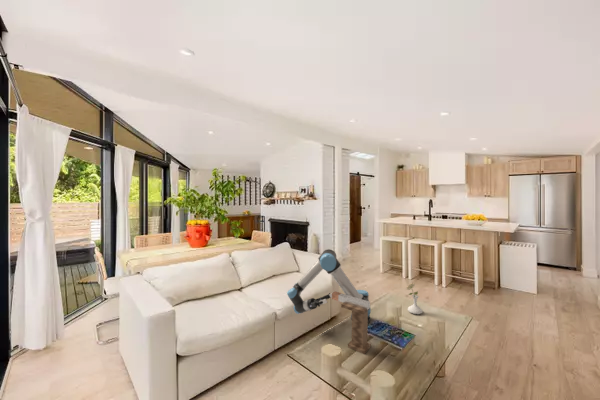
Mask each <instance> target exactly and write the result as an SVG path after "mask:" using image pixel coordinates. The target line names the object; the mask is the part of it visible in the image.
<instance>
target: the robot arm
mask: <svg viewBox="0 0 600 400" xmlns="http://www.w3.org/2000/svg"><path fill="white" fill-rule="evenodd" d="M341 265H342V264H341V262H340V261H339V260H338V258H337V254H336V252H335V251H334V250H332V249H329V248H328V249H325V250H323V251H322V253H321V254H320V255H319V257H318V258H317V261H316V262H314V264H313V265H312V266H311V267H310V269H309V270H307V271H306V273H305V274H303V276H302V277H301V278H300V279H299V280H298V281H297V282H296V283H294V284H293V286H292V288H290V289H288V291H287V292H286V295H287V296H288V299H290V301H291V302H292V305H293V311H294V314H298V315H299V314H304V313H305V312H311V310H315V309H317V308H318V307H321V306H323V305H325V304H328V299H332V293H333V292H331V293H330V292H329V293H328V294H326V295H324V296H320V297H318V298H314V297H312V298H309V299H305V300H303V298H302V296H301V293H302V292H303V291H304V290H305V289H306V288H307V287H308V286H309V284H311V283H312V281H313V280H315V278H316V277H317V276H318V275H319V274H320V273H321V272H322V271H323V270H324V271H325V272H326V273H327V274H328V275H331V276H332V278H333V279H334V281H335V282H336V283H337V284H338V286H339V288H340V289H341V290H342V292H343V294H345V295H349V296H352V297H356V298H359V299H362V300H366V301H369V296H370V295H369V292H368V291H367V290H364V289H356V287H355V286H354V285H353V283H352V282H351V280H350V278H348V276H347V274H346V273H345V272H344V270H343V268H341ZM369 302H370V301H369ZM371 312H372V310H371V307H370V309H369V310H368V324H369V323H370V322H371V315H370V314H371ZM350 320H351V321H352V313H351V314H350Z"/></svg>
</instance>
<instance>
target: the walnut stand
mask: <svg viewBox="0 0 600 400" xmlns="http://www.w3.org/2000/svg"><path fill="white" fill-rule="evenodd" d="M340 306H341V308H343V309H346V310H349V311H351V314H352V320H351V340H350V341H349V343H347V348H349V349H351V350H354V351H356V352H359V353H360V354H363V355H365V354H366V353H367V352H368V351H369V350H370V348H371V347H372V344H371V343H370V342H368V329H369V328H368V326H369V325H368V324H369V323H368V310H369V309H370V308H371V307H370V308H369V309H368V310H365V309H362V308H359V307H356V306H353V305H350V304H346V303H343V302H341V305H340Z"/></svg>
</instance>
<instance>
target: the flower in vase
mask: <svg viewBox="0 0 600 400" xmlns="http://www.w3.org/2000/svg"><path fill="white" fill-rule="evenodd" d="M414 287H415V283H413V282H412V283H409V285H407V286H406V290H408V291H409V290H412V292H410V293H408V295H409V296H412V299H413V304H412V305H410V306H408V307H407V311H408V312H409V313H411V314H413V315H421V314H422V313H423V309H422V308H421V307H420V306H419V305H418V304H417V302H418V298H419V297H420V296H419V295H418V294H419V292H418V291H415V292H414V290H413V288H414Z"/></svg>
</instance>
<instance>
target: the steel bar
mask: <svg viewBox="0 0 600 400" xmlns="http://www.w3.org/2000/svg"><path fill="white" fill-rule="evenodd" d="M331 293H332V298H331V299H332V300H334V301H337V302H341V303H346V304H350V305H353V306H356V307H359V308H362V309H365V310H368V309H369V308H371V301H366V300H362V299H359V298H356V297H352V296H349V295H345V293H341V292H339V291H335V290H334V292H331Z"/></svg>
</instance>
